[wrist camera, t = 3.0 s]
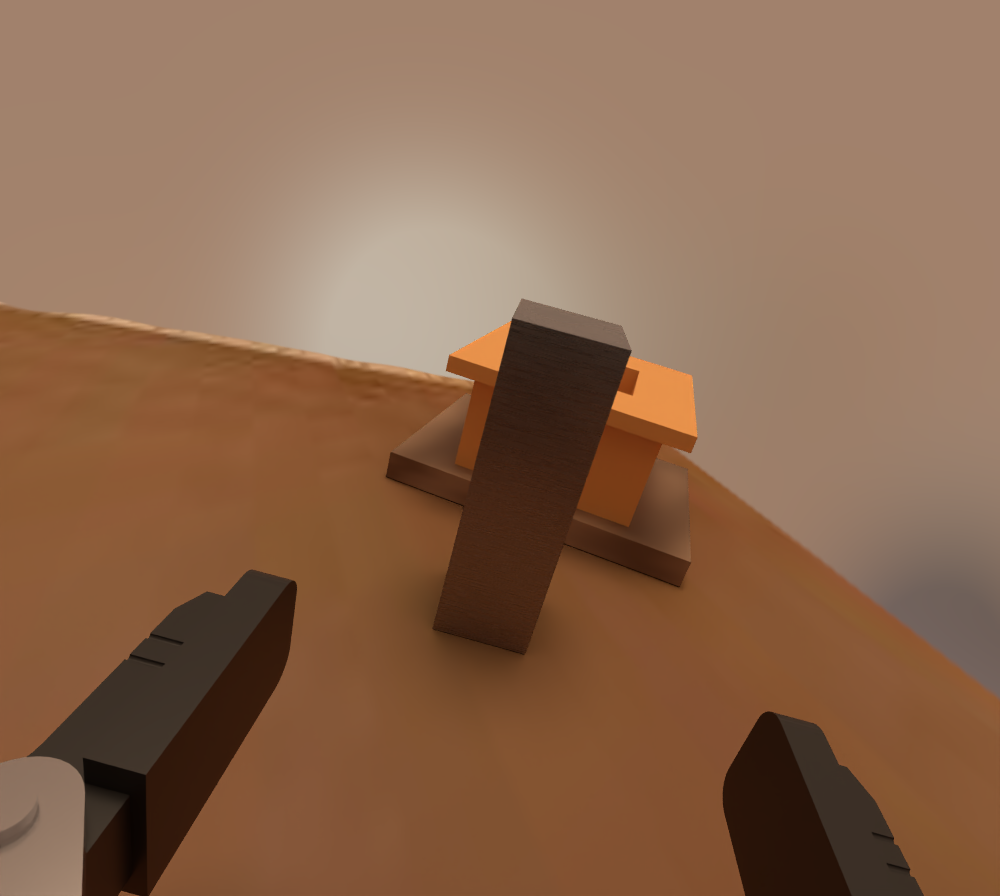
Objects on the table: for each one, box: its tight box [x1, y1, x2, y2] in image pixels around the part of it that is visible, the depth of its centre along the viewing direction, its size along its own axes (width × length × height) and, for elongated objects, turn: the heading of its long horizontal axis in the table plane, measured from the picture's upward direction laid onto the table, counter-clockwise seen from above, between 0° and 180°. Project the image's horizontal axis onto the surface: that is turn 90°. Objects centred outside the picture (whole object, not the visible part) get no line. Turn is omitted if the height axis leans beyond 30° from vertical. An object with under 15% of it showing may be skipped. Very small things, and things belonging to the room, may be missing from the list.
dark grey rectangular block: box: [433, 299, 632, 654], centre depth 21 cm, size 4×4×12 cm
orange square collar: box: [446, 321, 697, 527], centre depth 33 cm, size 12×12×6 cm
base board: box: [386, 393, 691, 587], centre depth 35 cm, size 16×12×2 cm
